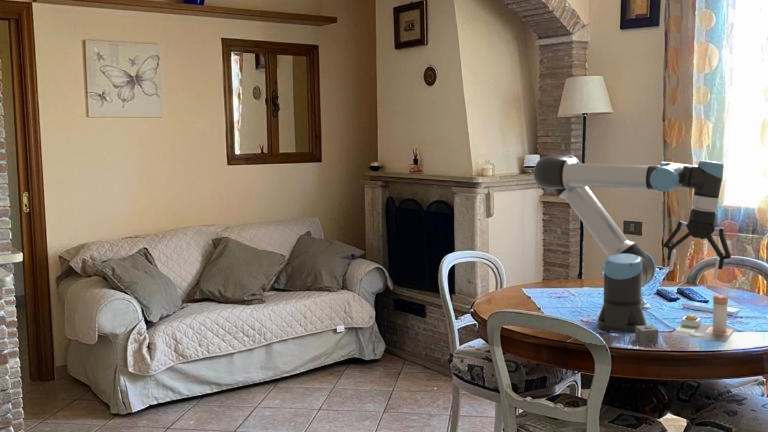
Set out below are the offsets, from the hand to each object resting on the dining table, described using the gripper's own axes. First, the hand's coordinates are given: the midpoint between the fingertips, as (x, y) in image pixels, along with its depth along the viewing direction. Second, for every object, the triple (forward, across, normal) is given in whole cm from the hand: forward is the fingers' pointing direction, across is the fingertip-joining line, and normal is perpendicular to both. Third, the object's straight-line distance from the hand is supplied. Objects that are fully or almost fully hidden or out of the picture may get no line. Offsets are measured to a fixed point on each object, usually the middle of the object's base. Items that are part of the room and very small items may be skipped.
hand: (692, 274), depth 244 cm
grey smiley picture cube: (+20, +6, +24) cm, 31 cm away
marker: (+16, -11, +3) cm, 19 cm away
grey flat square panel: (+17, -7, +6) cm, 19 cm away
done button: (+14, -2, 0) cm, 14 cm away
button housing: (+16, -2, 0) cm, 17 cm away
